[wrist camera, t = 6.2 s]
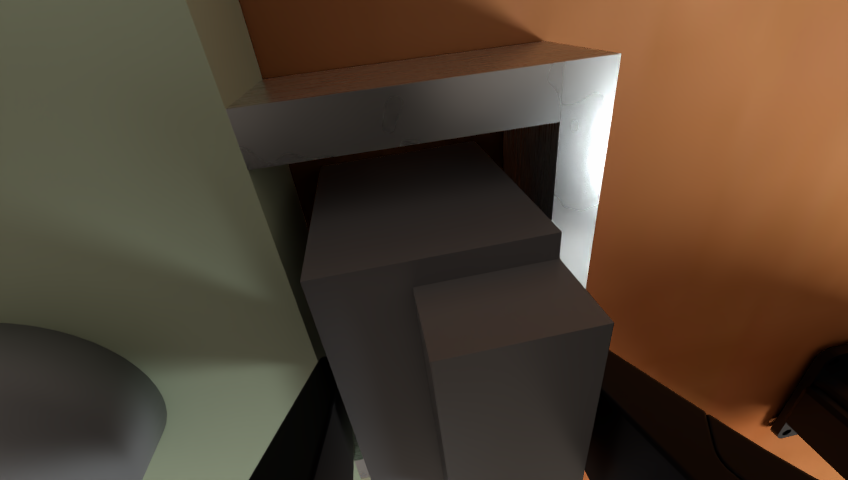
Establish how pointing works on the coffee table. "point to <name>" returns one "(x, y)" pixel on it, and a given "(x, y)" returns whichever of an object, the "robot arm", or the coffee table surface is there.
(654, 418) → the robot arm
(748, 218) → the coffee table surface
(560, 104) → the bracket
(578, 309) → the dark grey stepped block
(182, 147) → the mower deck
